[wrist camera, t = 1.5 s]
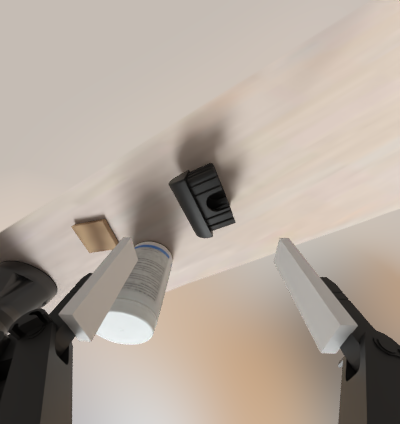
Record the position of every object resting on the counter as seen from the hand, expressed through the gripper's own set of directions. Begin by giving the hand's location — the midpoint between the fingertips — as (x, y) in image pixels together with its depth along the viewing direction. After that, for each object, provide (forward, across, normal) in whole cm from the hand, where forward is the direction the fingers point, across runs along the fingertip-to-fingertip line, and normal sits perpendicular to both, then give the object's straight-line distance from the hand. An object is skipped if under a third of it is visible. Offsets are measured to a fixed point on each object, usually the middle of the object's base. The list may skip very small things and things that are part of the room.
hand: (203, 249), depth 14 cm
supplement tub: (+15, -12, -15) cm, 25 cm away
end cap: (+15, 0, 0) cm, 15 cm away
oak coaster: (+15, -24, -9) cm, 29 cm away
